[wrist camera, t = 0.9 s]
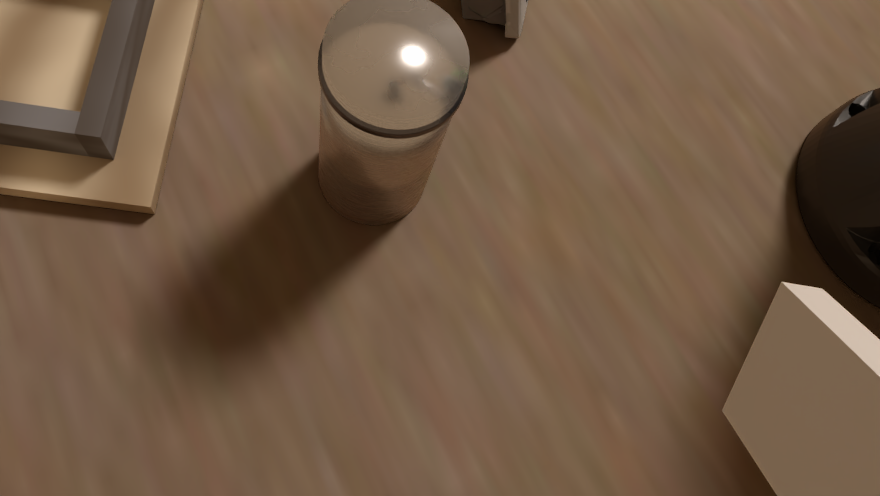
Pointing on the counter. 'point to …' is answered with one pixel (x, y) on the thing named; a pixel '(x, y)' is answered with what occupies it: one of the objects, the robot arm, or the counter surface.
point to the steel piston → (386, 103)
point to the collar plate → (91, 97)
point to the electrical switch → (497, 13)
